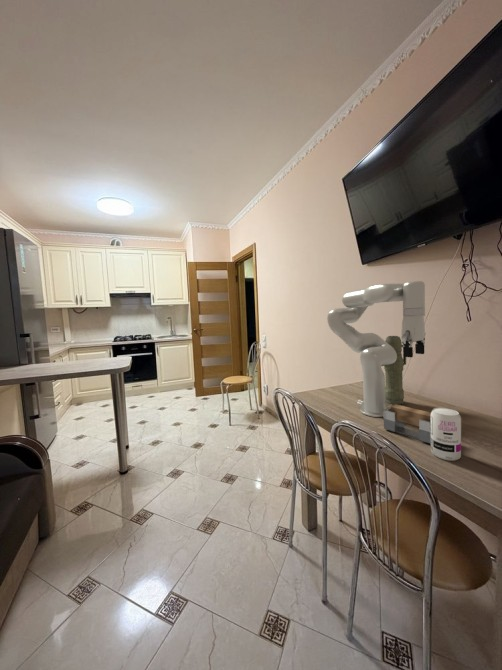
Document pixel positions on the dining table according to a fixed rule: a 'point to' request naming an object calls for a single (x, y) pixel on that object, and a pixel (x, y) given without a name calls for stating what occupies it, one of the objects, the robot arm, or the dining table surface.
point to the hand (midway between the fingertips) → (414, 355)
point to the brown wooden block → (410, 414)
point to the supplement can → (446, 434)
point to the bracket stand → (398, 427)
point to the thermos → (395, 374)
